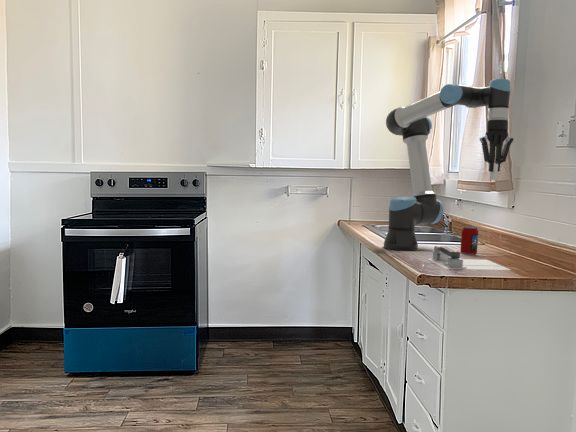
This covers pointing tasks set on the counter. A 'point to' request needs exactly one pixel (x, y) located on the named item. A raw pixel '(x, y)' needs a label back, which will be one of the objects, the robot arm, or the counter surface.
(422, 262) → the counter surface
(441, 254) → the keeper
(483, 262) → the door board
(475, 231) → the beverage can
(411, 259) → the counter surface
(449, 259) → the grey latch pivot mount
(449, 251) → the latch bar
